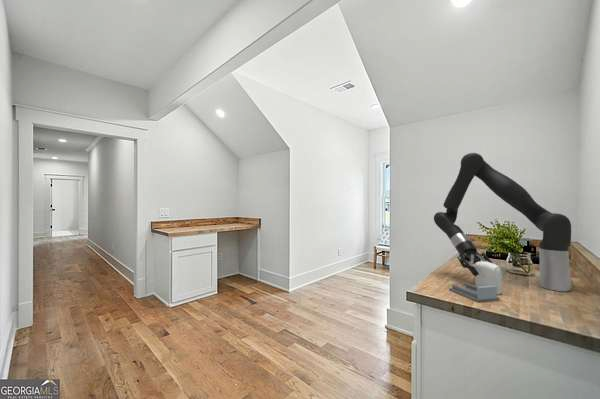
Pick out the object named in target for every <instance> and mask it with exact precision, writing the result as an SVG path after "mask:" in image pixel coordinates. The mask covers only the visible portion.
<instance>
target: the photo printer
mask: <svg viewBox="0 0 600 399" xmlns="http://www.w3.org/2000/svg"><path fill="white" fill-rule="evenodd" d="M474 267H475V269H476V270H477V272H478V273H479V275H477V276H474V282H475V283H474V284H475V285H474V286H476V287H482V286H493V285H494V286H497V295H501V294H503V290H502V289H503V288H502V287H503V286H502V283H503V281H502V269H501V267H500V266H498V265H497V264H495V263H494V262H493V263H490V262H488V261H487V262H485V261H482V260H481V261H480V262H476V264H474Z"/></svg>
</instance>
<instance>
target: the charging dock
mask: <svg viewBox="0 0 600 399" xmlns="http://www.w3.org/2000/svg"><path fill="white" fill-rule="evenodd" d="M449 291H450V292H452V293H455V294H457V295H460V296H462V297H464V298H466V299H469V300H471V301H474V302H475V303H485V302H494V301H495V302H496V301H500V297H498V294H497V286H494V285H493V286H482V287H476V286H475V285H473V284H470V283H465V286H458V285H455V284H451V287H449Z"/></svg>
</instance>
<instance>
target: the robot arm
mask: <svg viewBox="0 0 600 399" xmlns="http://www.w3.org/2000/svg"><path fill="white" fill-rule="evenodd" d="M459 168H460V169H459V170H458V174H457V177H456V179H455V181H454V183H453V185H452V186H451V188H450V190H449V192H448V193H447V196H446V198H445V200H444V202H443V205H442V206H443V207H444V208H445V209H446V210H445V211H446V212H443V211H439V212H436V213H435V214H434V216H433V221H434V223H435V225H436V226H437V227H438V228H439V229H440V230H441V231H442V232H443V233H444V234H446V236H447V237H448V238H449V240H450V242H451V244H452V245H453V247H454V248H455V250H456V251H457V252H458V256H457V257H456V258H457V260H458V262H459V263H460V264H461V266H462V268H463V269H467V270H469V271H470V273H471V274H472V275H473V276H474V277H475V276H477V275H479V273H478V272H477V270H476V269H475V266H474V265H475V264H476V262H482V261H485V262H490V263H493V264H494V262H493V261H492V260H491V259H490V258H489V256H488V255H487V254H486V253H485V252H482V253H479V252H478V251H477V250H478V249H477V246H475V244H474V243H473V242H472V240H470V238H469V237H468V235H467V234H465V232H464V231H463V230H462V228H461V227H460V226H459V225H456V224H455V223H456V221H457V217H458V213H459V207H460V206H461V204H462V201H463V199H464V197H465V195H466V193H467V191H468V189H469V186H470V184H471V183H472V181H473V180H474V177H476V178H478V179H479V180H480V181H481V182H483V184H485V186H486V187H488V188H489V190H491V192H493V193H494V194H495V195H496V196H498V198H500V200H502V201H504V202H505V203H507V205H509V206H511V207H512V208H513V209H515V210H516V211H518V212H519V213H521V214H522V215H523V216H524V217H526V218H527V219H528V221H530V223H532V224H533V225H534V226H535V227H536V228H537V229H538V230H539V231H541V232H542V239H541V241H539V242H538V249H539V250H538V252H539V286H540V287H541V288H544V289H546V290H551V291H558V292H570V290H572V287H571V286H572V285H571V284H572V280H571V278H572V277H571V268H570V256H569V253H570V252H569V248H570V245H571V244H572V224H571V221H570V219H569V218H568V217H567V216H566V215H564V214H561V213H554V212H551V211H549V210H547V209H546V208H544V207H542V206H541V205H540V204H538V202H536V201H535V200H534V199H533V197H532V196H531V194H530V193H529V192H528V191H527V190H526V189H525V188H524V187H523V186H522V185H520V184H519V183H518V182H517V181H515V180H513V179H512V178H510V177H509V176H508V175H505V174H504V173H502V172H500V171H498V170H496V169H495V168H493V166H491V165H490V164H488V162H486V161H485V159H484V157H483V156H482V155H481V154H480V153H477V152H470V153H467V154H465V155H463V156H462V157H461V160H460V167H459Z"/></svg>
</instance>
